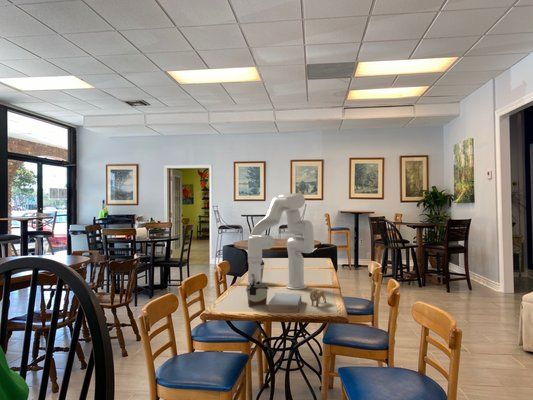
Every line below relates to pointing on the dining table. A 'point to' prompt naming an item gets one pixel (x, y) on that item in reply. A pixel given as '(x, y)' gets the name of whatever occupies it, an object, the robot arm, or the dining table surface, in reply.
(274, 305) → the pedestal
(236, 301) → the dining table surface
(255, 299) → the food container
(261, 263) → the coffee cup
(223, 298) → the dining table surface
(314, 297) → the lion figurine
